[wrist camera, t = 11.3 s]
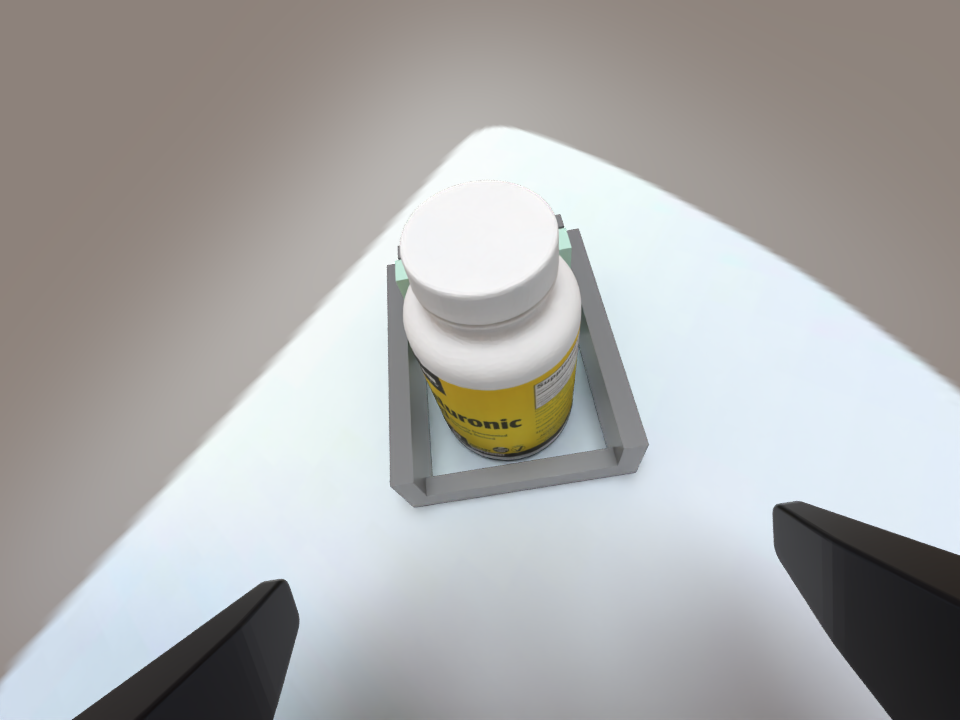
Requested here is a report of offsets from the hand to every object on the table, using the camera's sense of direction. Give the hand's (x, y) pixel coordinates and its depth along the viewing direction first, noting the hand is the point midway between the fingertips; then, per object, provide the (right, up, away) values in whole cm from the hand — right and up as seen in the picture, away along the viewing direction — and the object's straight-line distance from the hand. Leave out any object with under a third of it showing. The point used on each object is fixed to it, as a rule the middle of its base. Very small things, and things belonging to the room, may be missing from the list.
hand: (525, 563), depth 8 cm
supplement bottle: (0, +2, +11) cm, 12 cm away
